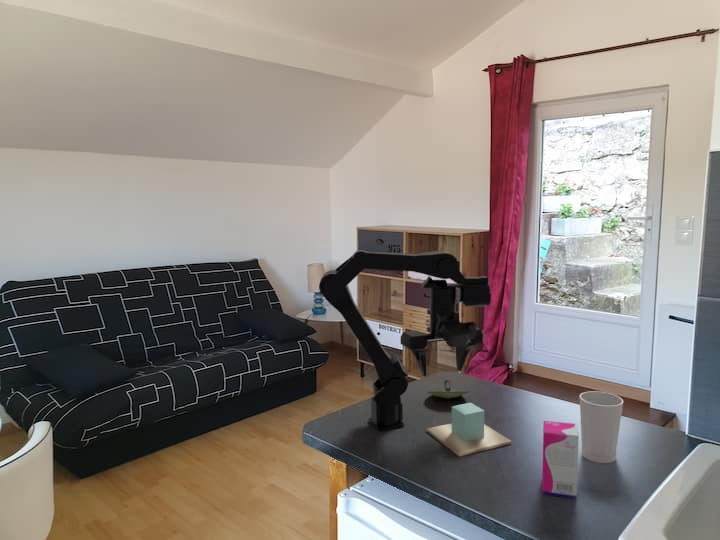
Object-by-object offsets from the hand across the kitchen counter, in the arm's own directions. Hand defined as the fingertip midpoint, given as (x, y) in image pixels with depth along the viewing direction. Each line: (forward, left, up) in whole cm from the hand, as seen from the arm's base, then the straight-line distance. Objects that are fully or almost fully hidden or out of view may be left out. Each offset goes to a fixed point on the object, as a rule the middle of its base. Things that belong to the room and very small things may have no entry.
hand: (441, 373), depth 123 cm
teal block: (+1, -9, -11) cm, 15 cm away
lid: (+9, +11, -12) cm, 19 cm away
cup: (+20, -27, -12) cm, 36 cm away
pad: (+1, -9, -12) cm, 15 cm away
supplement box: (+4, -33, -12) cm, 35 cm away
